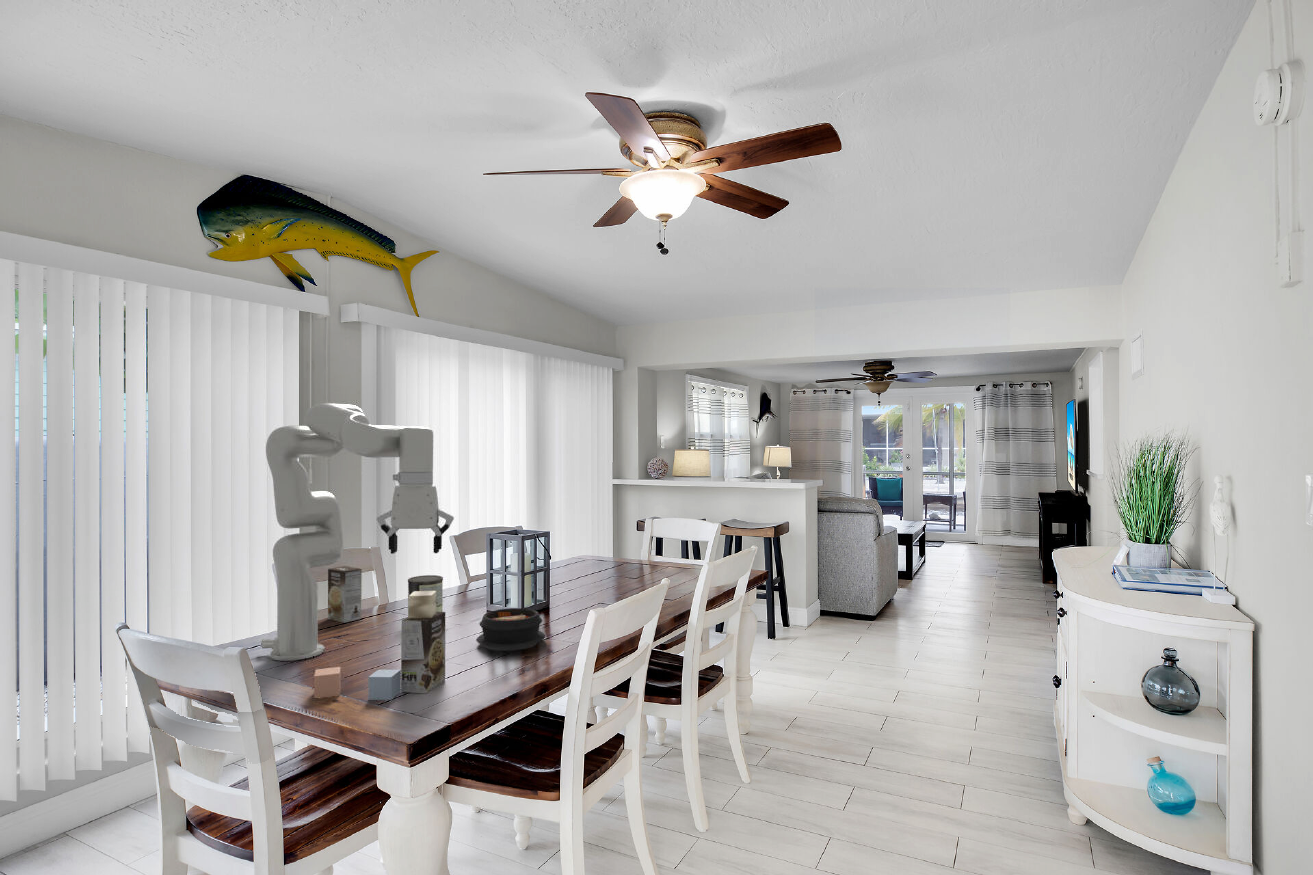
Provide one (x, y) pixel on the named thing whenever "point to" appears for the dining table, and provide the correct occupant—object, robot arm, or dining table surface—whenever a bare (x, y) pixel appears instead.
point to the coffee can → (427, 587)
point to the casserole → (510, 629)
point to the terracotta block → (327, 682)
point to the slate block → (384, 684)
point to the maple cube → (422, 604)
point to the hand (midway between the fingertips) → (415, 552)
